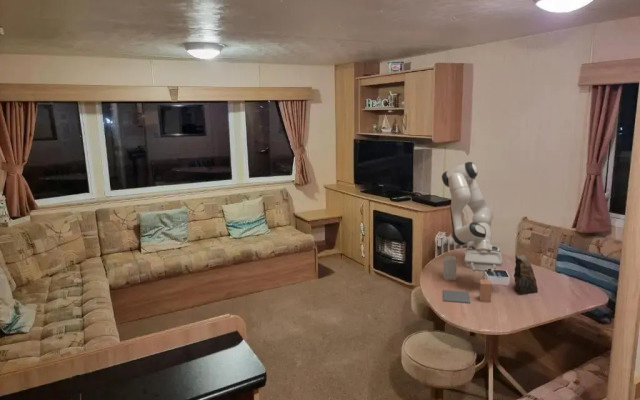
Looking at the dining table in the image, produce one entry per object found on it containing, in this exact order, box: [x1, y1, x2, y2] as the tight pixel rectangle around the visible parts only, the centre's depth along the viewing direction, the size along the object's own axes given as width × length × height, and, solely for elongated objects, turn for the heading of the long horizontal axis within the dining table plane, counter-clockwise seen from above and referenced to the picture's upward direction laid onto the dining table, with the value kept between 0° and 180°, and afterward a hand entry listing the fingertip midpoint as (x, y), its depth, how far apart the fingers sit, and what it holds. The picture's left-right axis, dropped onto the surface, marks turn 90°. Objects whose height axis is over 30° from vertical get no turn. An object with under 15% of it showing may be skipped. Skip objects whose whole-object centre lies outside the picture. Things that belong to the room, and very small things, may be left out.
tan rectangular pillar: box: [478, 279, 493, 303], centre depth 236 cm, size 5×5×10 cm
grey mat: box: [442, 289, 471, 304], centre depth 241 cm, size 14×14×1 cm
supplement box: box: [442, 255, 458, 281], centre depth 267 cm, size 7×7×13 cm
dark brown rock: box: [513, 253, 539, 296], centre depth 246 cm, size 13×13×20 cm
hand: (483, 271), depth 242 cm, fingers open, 8 cm apart
